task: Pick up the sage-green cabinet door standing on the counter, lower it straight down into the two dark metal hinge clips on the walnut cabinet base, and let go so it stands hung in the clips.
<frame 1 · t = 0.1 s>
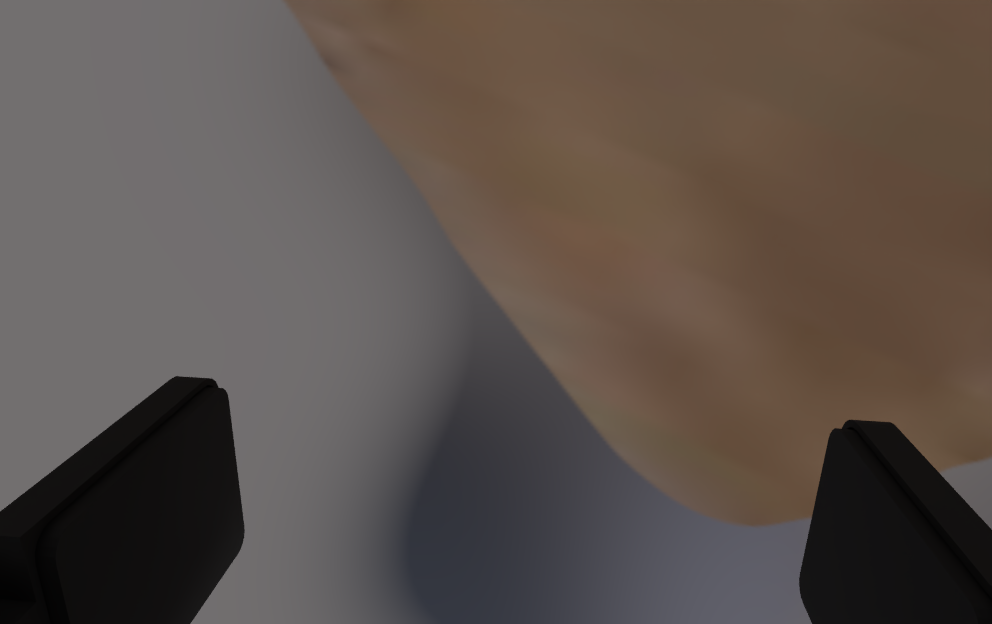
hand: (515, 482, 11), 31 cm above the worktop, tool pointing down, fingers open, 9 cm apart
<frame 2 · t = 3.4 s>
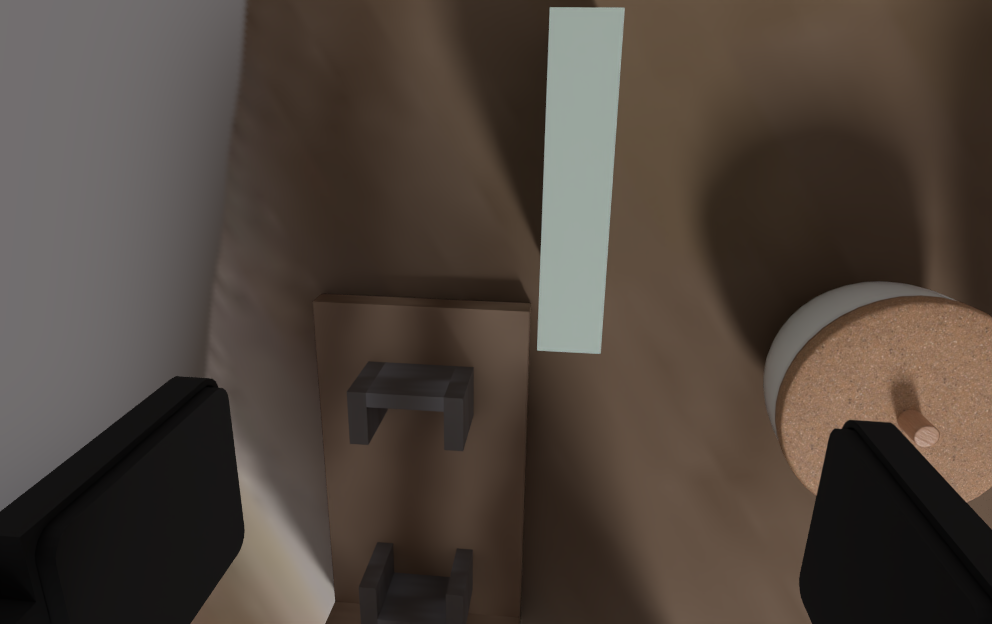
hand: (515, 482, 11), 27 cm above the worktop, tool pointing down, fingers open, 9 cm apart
lidded jar: (840, 350, 37), on the worktop
door: (574, 157, 35), on the worktop
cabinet: (428, 468, 42), on the worktop
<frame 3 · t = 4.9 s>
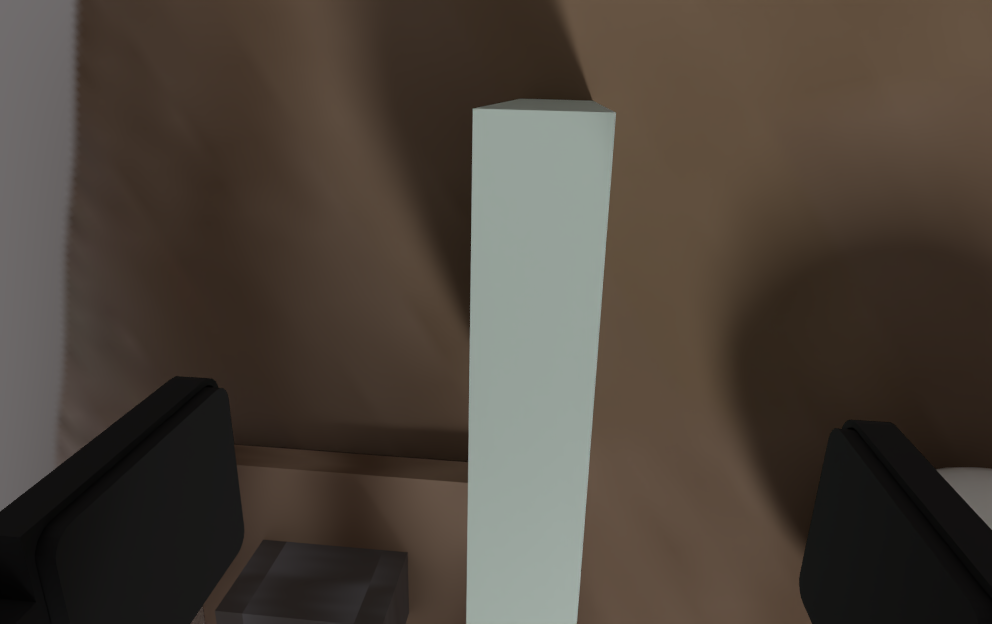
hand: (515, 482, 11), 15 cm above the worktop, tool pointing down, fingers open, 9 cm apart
lidded jar: (919, 537, 27), on the worktop
door: (547, 272, 25), on the worktop
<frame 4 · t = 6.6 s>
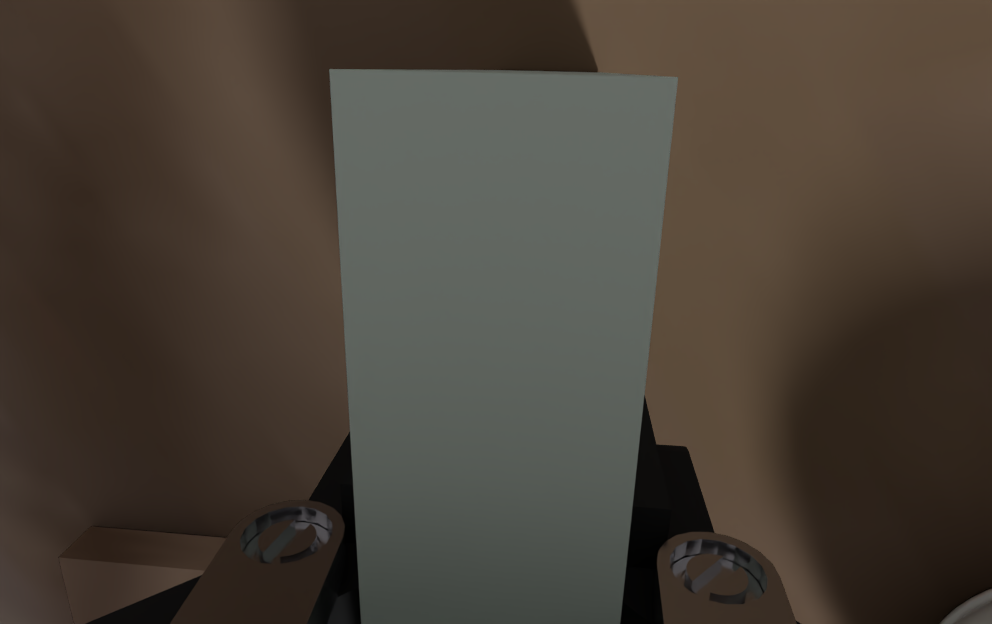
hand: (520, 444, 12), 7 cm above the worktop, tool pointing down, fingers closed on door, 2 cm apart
door: (536, 312, 18), on the worktop, touching gripper
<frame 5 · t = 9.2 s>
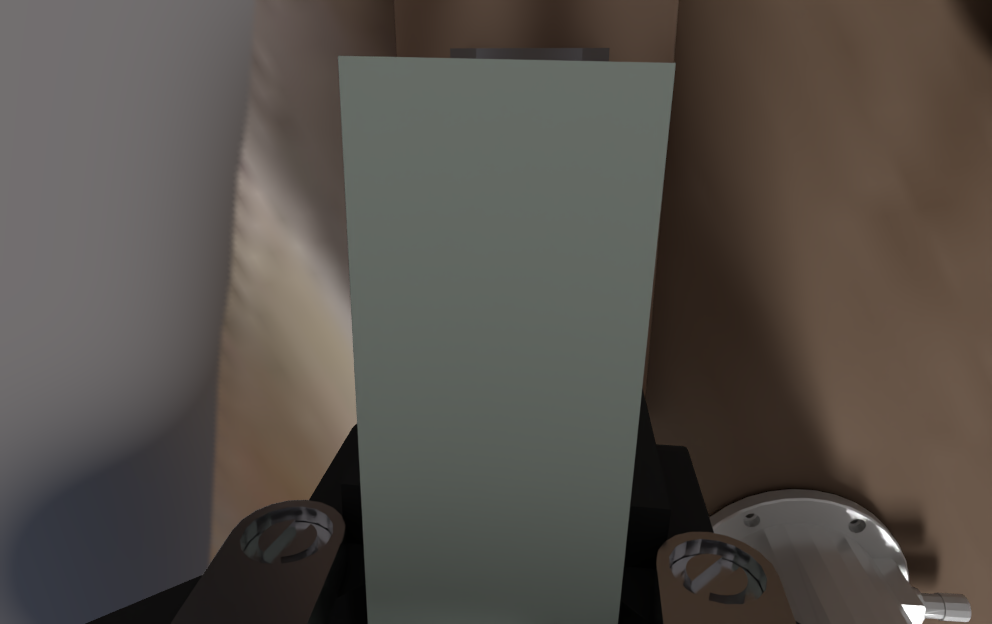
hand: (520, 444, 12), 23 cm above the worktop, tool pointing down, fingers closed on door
door: (537, 308, 18), point 16 cm above the worktop, touching gripper
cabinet: (531, 216, 33), on the worktop
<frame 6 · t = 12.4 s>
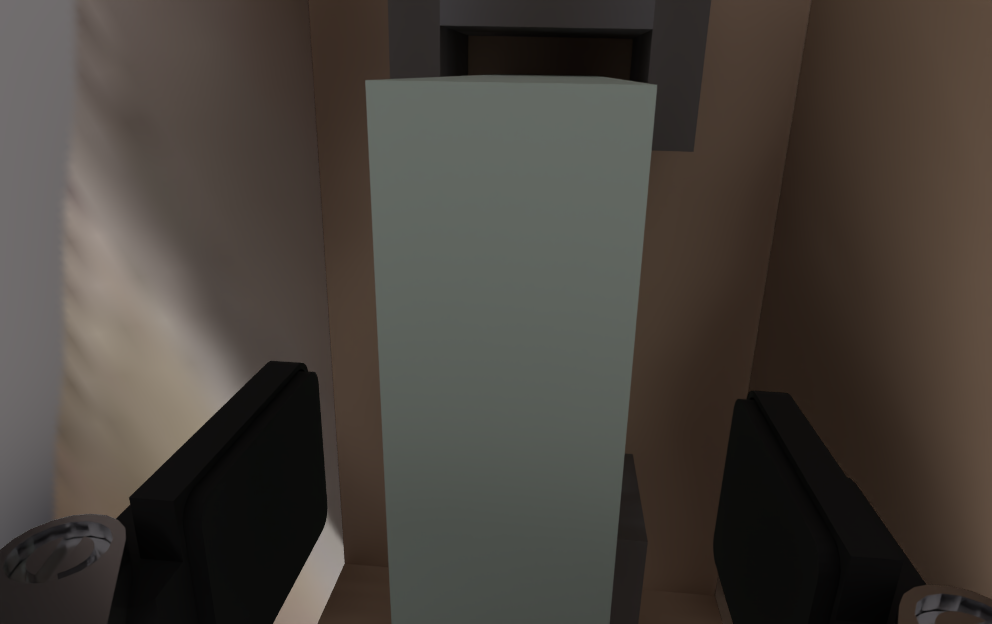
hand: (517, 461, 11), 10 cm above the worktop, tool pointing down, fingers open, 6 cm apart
door: (539, 304, 19), point 1 cm above the worktop, touching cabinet
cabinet: (540, 285, 20), on the worktop
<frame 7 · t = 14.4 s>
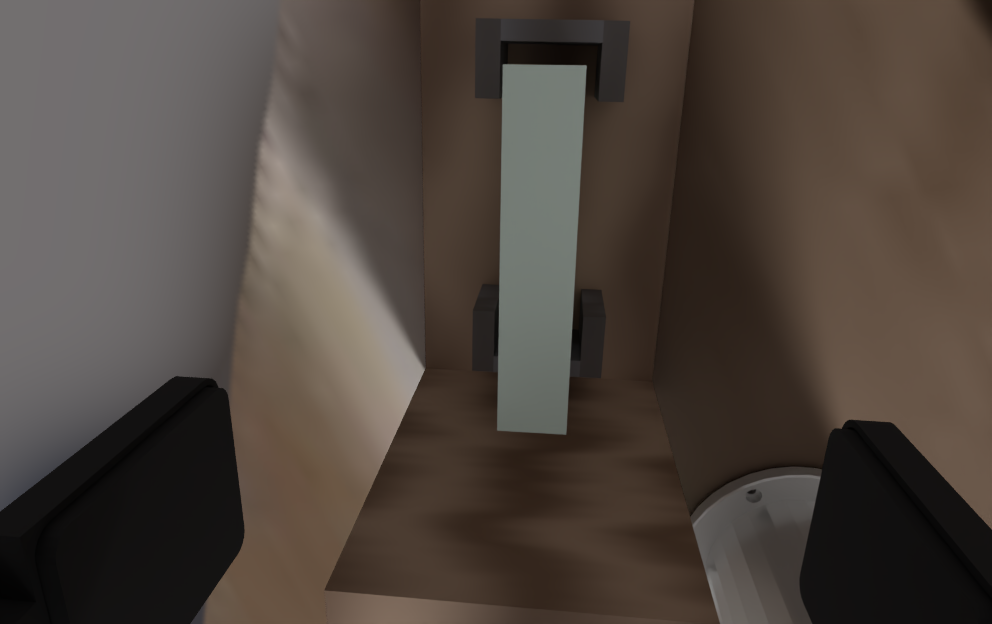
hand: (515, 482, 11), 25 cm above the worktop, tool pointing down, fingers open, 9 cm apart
door: (546, 197, 33), point 1 cm above the worktop, touching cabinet
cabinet: (546, 190, 34), on the worktop
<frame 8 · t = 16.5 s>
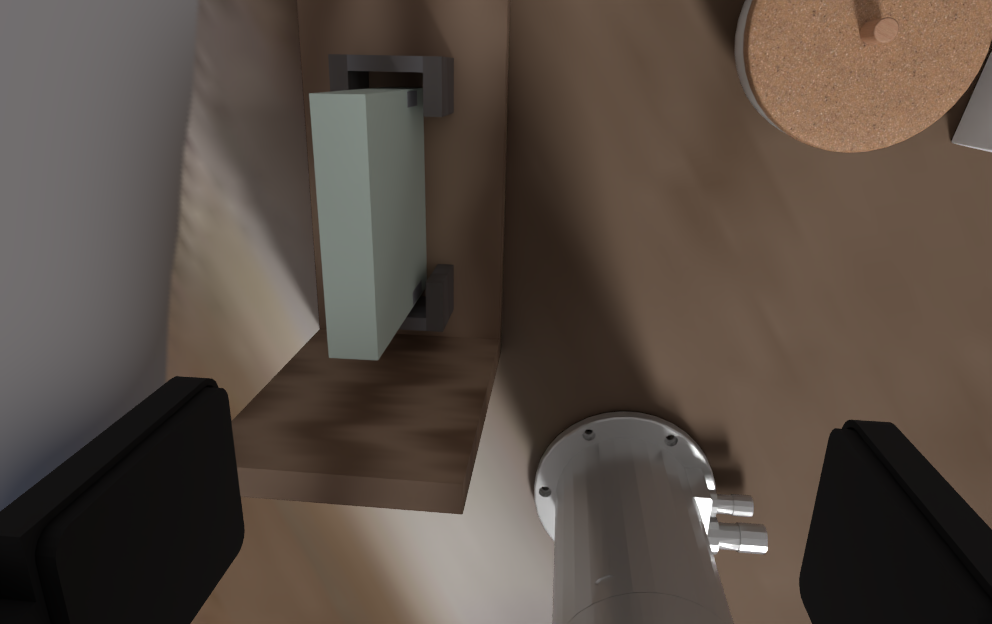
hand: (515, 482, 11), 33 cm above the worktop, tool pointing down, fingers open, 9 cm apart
lidded jar: (811, 39, 38), on the worktop
door: (405, 190, 42), point 1 cm above the worktop, touching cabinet
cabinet: (410, 185, 43), on the worktop
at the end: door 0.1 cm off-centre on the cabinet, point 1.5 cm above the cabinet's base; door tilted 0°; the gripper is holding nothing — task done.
